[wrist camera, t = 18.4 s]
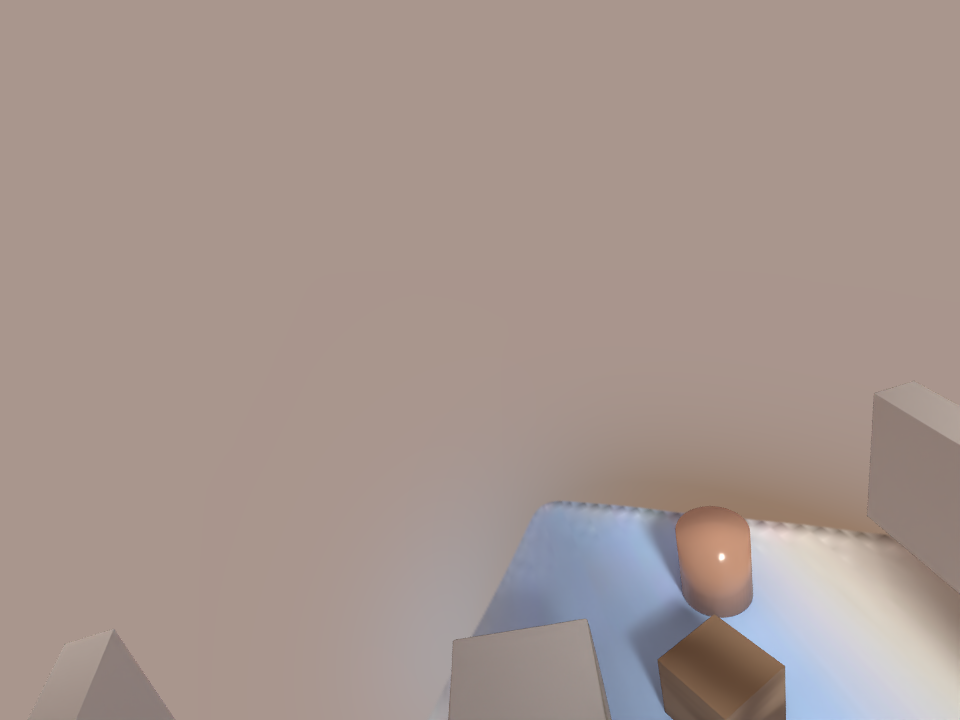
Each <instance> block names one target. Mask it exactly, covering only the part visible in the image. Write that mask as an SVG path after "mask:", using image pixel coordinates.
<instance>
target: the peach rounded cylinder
mask: <svg viewBox="0 0 960 720" xmlns="http://www.w3.org/2000/svg"><path fill="white" fill-rule="evenodd" d="M675 530H676V540H677V548H678V557H679V566H680V574H681V583H682V592H683V596H684V598H685V600H686V601H687V603H688V604H689V605H690V606H691V607H692V608H694V609H695V610H696V611H698V612H700V613H702V614H704V615H707V616H713V615H714V614H715V615H716V616H718V617H719V618H724V617H731V616H735V615H738V614H740V613H742V612H743V611H745V610H746V609H747V608H748V607H749V605H750V604H751V602H752V599H753V583H752V562H751V542H750V529H749V526H748V524H747V522H746V521H745V520H744V518H743V517H741V516H740V515H739V514H737V513H736V512H733V511H731V510H729V509H726V508H722V507H715V506H706V507H699V508H695V509H692V510H690V511H688V512H686V513H685V514H683V515H682V516H681V517H680V518H679V520H678V522H677V524H676V528H675Z"/></svg>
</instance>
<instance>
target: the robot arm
mask: <svg viewBox="0 0 960 720" xmlns="http://www.w3.org/2000/svg"><path fill="white" fill-rule="evenodd" d="M873 404H874V405H873V420H872V438H871V456H870V473H869V492H868V509H867V516H868V517H869V518H870V519H872V520H873V521H874V522H875V523H876V524H877V525H879V526H880V527H881V528H882V529H884V530H885V531H886V532H887V533H888V534H889V535H890V536H892V537H893V538H894V539H895V540H896V541H898V542H899V543H900V544H901V545H902V546H903V547H905V548H906V549H907V550H908V551H909V552H911V553H912V554H913V555H914V556H915V557H916V558H918V559H919V560H920V561H921V562H922V563H924V564H925V565H926V566H927V567H928V568H929V569H931V570H932V571H933V572H934V573H935V574H937V575H938V576H939V577H940V578H941V579H942V580H944V581H945V582H946V583H947V584H948V585H949V586H951V587H952V588H953V589H954V590H955V591H957V592H958V593H959V594H960V405H958V404H956V403H954V402H952V401H950V400H949V399H947V398H945V397H943V396H941V395H939V394H938V393H936V392H934V391H932V390H930V389H928V388H926V387H925V386H923V385H921V384H919V383H917V382H915V381H912V382H909V383H905V384H902V385H899V386H896V387H892V388H890V389H886V390H883V391H880V392H876V393H874V402H873ZM28 720H175V719H174V717H173V716H172V714H171V713H170V711H169V710H168V708H167V707H166V705H165V704H164V702H163V701H162V699H161V698H160V696H159V695H158V693H157V692H156V690H155V689H154V688H153V686H152V685H151V683H150V681H149V680H148V678H147V677H146V676H145V674H144V673H143V671H142V670H141V668H140V667H139V665H138V664H137V662H136V661H135V659H134V658H133V656H132V655H131V653H130V652H129V650H128V649H127V647H126V646H125V644H124V643H123V641H122V640H121V638H120V637H119V635H118V634H117V633H116V631H115V629H111V630H108V631H104V632H101V633H98V634H95V635H91V636H88V637H85V638H82V639H79V640H75V641H72V642H69V643H66V644H64V647H63V649H62V651H61V653H60V655H59V657H58V659H57V661H56V663H55V665H54V667H53V669H52V671H51V673H50V675H49V677H48V679H47V681H46V683H45V685H44V687H43V690H42V691H41V693H40V695H39V698H38V700H37V702H36V704H35V706H34V708H33V710H32V712H31V714H30V716H29V718H28Z"/></svg>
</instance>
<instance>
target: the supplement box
mask: <svg viewBox="0 0 960 720" xmlns="http://www.w3.org/2000/svg"><path fill="white" fill-rule="evenodd" d="M448 720H611V715H610V711H609V706H608V702H607V697H606V693H605V688H604V684H603V680H602V676H601V671H600V667H599V663H598V659H597V655H596V651H595V647H594V643H593V639H592V635H591V631H590V628H589V624H588V621H587V619H579V620H573V621H568V622H562V623H556V624H551V625H544V626H538V627H532V628H525V629H519V630H513V631H507V632H501V633H495V634H488V635H482V636H476V637H470V638H463V639H456V640H454V641H453V654H452V675H451V689H450V703H449V717H448Z"/></svg>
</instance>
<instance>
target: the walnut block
mask: <svg viewBox="0 0 960 720" xmlns="http://www.w3.org/2000/svg"><path fill="white" fill-rule="evenodd" d="M658 667H659V674H660V681H661V688H662V694H663V701H664V708H665V712H666V713H667V714H668V715H669V716H670V717H671V718H672V719H673V720H786V696H785V666H784V665H783V664H781V663H780V662H779V661H777V660H776V659H775V658H773V657H772V656H770V655H769V654H768V653H766V652H765V651H764V650H762V649H761V648H760V647H758V646H757V645H756V644H754V643H753V642H751V641H750V640H749V639H747V638H746V637H745V636H743V635H742V634H741V633H739V632H738V631H737V630H735V629H734V628H732V627H731V626H730V625H728V624H727V623H726V622H724V621H723V620H722V619H720V618H719V617H718V616H716V615H715V614H714V615H713V616H711V617H710V618H709V619H708V620H706V621H705V622H704V623H703V624H701V625H700V626H699V627H698V628H696V629H695V630H694V631H693V632H691V633H690V634H689V635H688V636H686V637H685V638H684V639H683V640H681V641H680V642H679V643H678V644H677V645H675V646H674V647H673V648H672V649H670V650H669V651H668V652H667V653H665V654H664V655H663V656H662V657H660V658H659V659H658Z"/></svg>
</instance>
